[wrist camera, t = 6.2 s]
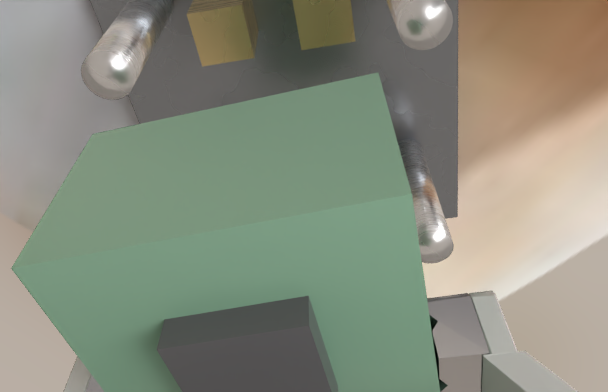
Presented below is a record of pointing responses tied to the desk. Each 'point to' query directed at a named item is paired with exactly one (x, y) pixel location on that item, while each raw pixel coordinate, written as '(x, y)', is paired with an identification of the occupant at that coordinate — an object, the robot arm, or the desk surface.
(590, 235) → the desk surface
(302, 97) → the green rectangular block
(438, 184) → the chassis
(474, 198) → the desk surface
